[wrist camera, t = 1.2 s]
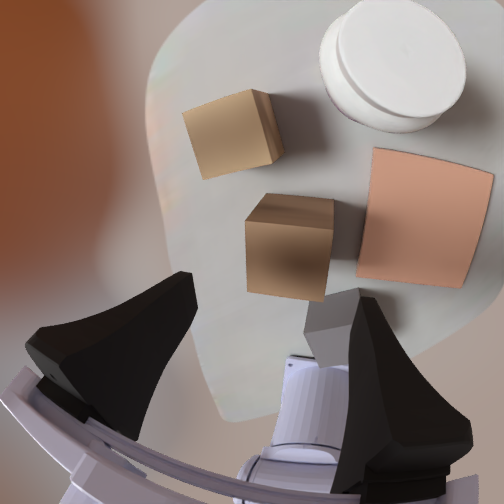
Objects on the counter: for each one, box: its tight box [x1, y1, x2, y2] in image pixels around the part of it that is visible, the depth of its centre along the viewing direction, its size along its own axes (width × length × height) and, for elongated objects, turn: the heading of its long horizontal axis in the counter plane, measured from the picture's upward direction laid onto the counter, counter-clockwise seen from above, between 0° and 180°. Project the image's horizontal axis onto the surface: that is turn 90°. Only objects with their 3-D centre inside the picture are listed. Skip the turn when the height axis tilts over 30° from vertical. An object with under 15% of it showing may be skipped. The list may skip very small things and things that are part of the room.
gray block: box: [303, 288, 361, 368], centre depth 20 cm, size 4×4×4 cm
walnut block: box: [245, 193, 334, 302], centre depth 17 cm, size 4×4×5 cm
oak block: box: [182, 89, 285, 180], centre depth 15 cm, size 4×4×4 cm
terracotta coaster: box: [356, 147, 494, 288], centre depth 16 cm, size 9×9×1 cm
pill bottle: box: [319, 0, 467, 133], centre depth 9 cm, size 5×5×10 cm
